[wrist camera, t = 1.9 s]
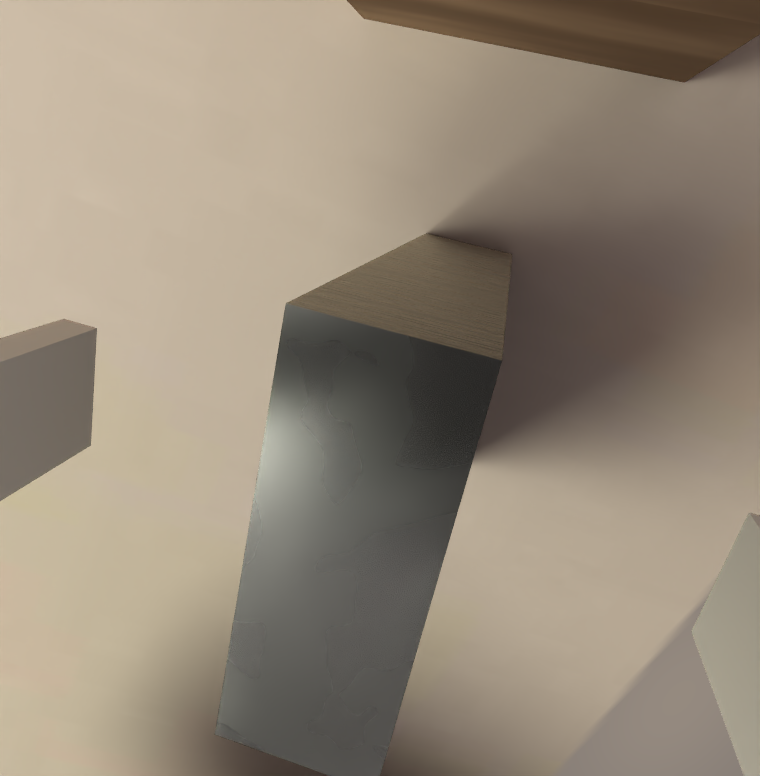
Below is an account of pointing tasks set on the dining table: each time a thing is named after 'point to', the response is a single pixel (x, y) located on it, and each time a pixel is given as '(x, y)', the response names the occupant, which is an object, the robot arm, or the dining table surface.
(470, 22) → the wooden planter box
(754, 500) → the dining table surface
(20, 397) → the robot arm
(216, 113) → the dining table surface
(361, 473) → the grey slab
